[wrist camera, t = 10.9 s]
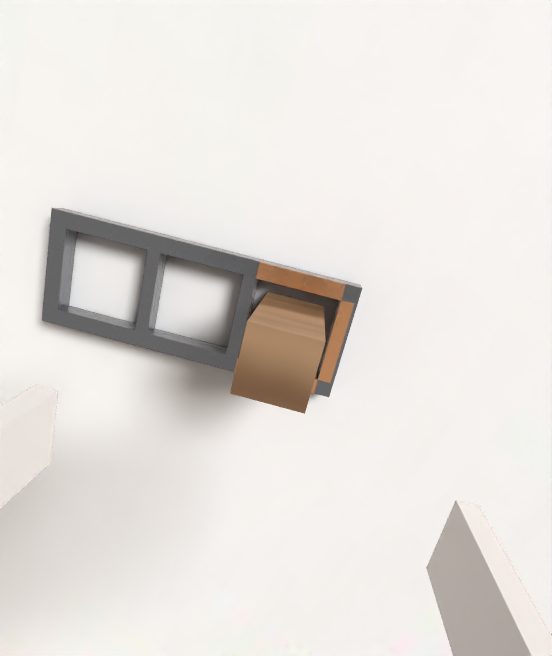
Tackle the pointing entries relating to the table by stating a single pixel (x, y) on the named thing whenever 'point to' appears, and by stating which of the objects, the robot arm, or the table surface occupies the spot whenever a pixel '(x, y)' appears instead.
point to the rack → (144, 329)
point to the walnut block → (281, 352)
